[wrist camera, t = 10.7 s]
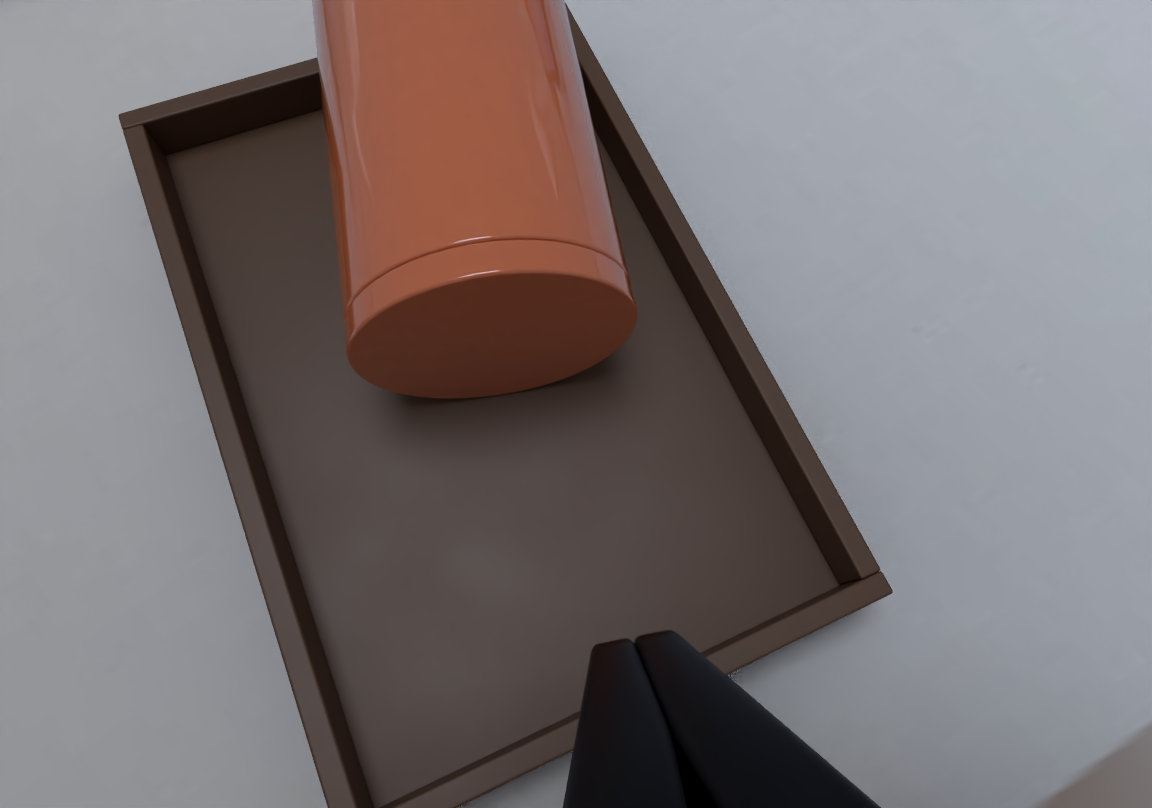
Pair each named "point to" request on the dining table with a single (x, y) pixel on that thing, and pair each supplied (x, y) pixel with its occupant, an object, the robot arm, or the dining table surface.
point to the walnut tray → (478, 466)
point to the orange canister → (467, 196)
